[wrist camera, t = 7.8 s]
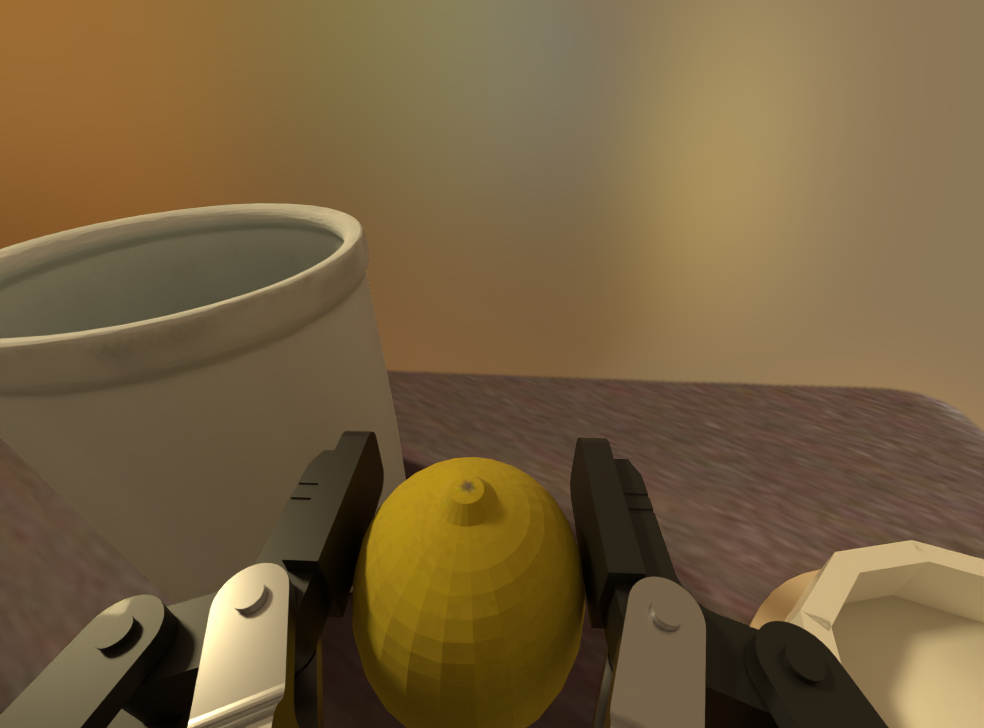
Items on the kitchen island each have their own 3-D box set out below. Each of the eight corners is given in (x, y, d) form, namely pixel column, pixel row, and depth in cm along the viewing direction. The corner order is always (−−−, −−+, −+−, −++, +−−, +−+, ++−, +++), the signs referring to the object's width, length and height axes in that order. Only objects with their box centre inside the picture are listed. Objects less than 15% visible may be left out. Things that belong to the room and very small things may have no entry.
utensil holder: (143, 730, 17) (-339, 420, 7) (163, 488, 28) (-21, 229, 18) (453, 554, 23) (419, 263, 14) (373, 412, 34) (322, 191, 24)
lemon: (603, 709, 11) (682, 546, 7) (413, 847, 9) (344, 745, 5) (508, 544, 15) (518, 374, 11) (361, 614, 13) (298, 439, 9)
